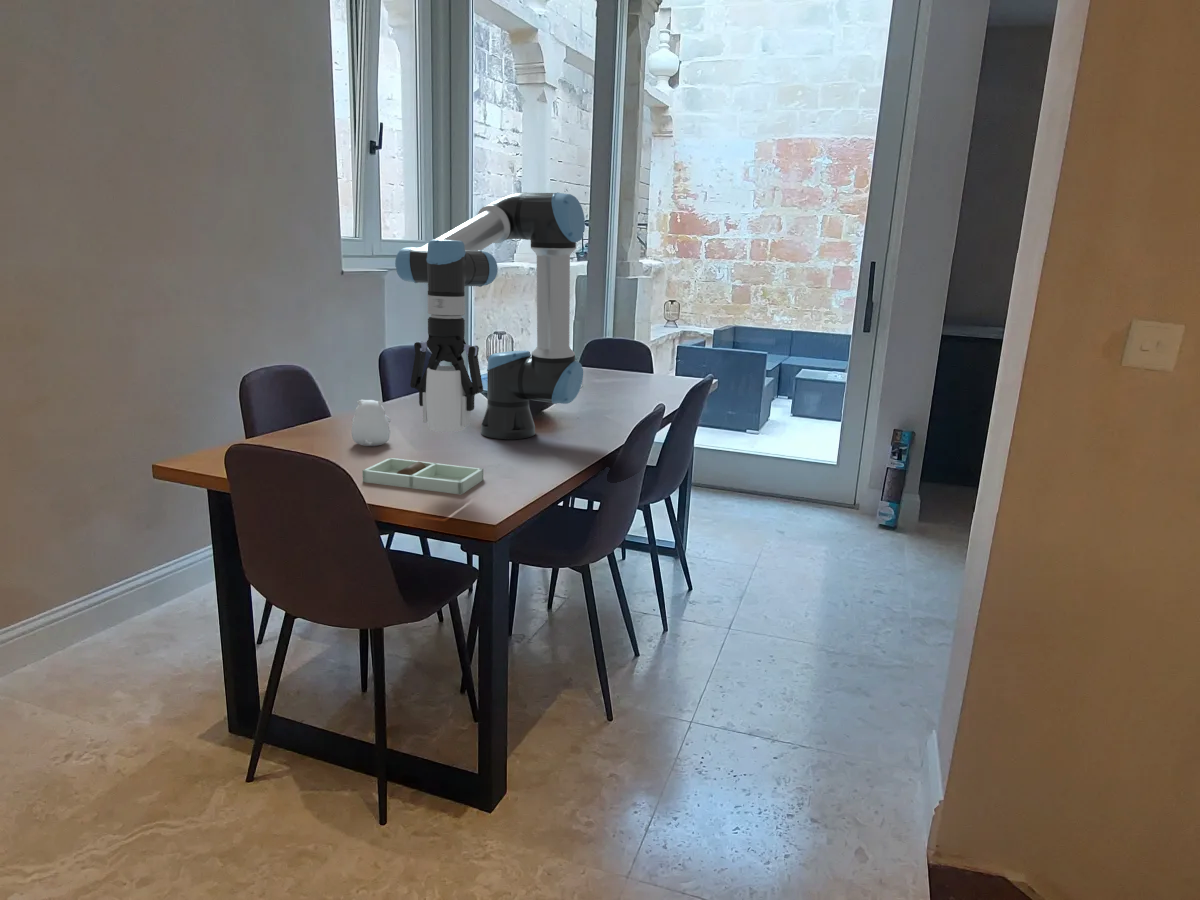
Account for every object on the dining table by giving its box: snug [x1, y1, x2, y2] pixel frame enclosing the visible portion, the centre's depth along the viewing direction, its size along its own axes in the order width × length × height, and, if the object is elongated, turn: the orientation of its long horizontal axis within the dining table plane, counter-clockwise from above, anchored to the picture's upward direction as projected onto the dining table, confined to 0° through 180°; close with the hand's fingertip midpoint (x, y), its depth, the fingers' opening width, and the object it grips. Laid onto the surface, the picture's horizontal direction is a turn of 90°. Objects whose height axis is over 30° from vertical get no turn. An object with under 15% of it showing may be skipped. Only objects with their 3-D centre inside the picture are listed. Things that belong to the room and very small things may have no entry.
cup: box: [426, 365, 466, 433], centre depth 167 cm, size 8×8×14 cm
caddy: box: [362, 457, 484, 495], centre depth 173 cm, size 12×23×3 cm, turn 75°
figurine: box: [351, 399, 392, 447], centre depth 201 cm, size 10×10×12 cm
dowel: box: [397, 461, 426, 475], centre depth 174 cm, size 8×3×3 cm
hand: (446, 423), depth 169 cm, fingers closed on cup, 8 cm apart
